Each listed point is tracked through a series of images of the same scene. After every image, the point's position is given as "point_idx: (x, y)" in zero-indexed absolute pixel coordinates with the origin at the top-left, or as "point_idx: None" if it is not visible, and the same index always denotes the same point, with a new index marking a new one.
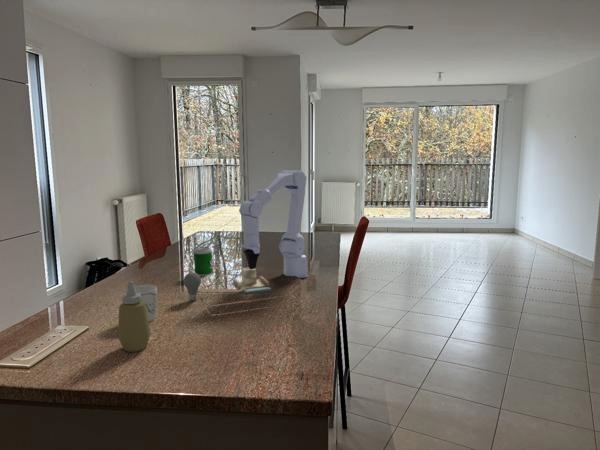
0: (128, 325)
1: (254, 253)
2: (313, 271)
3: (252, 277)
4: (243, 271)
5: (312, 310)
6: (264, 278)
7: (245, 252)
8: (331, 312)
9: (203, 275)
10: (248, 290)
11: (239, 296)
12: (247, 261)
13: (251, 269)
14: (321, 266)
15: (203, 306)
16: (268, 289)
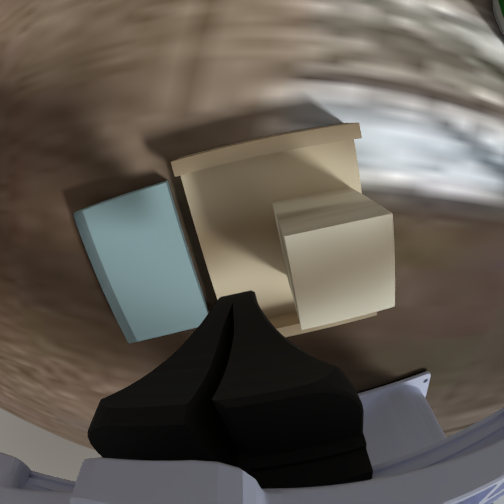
0: None
1: (5, 454)
2: None
3: (287, 269)
4: (335, 218)
5: (8, 389)
6: (313, 330)
7: (131, 409)
8: (12, 413)
9: (495, 4)
10: (115, 222)
11: (99, 163)
12: (260, 318)
13: (316, 294)
14: None
15: (7, 25)
16: (121, 327)
